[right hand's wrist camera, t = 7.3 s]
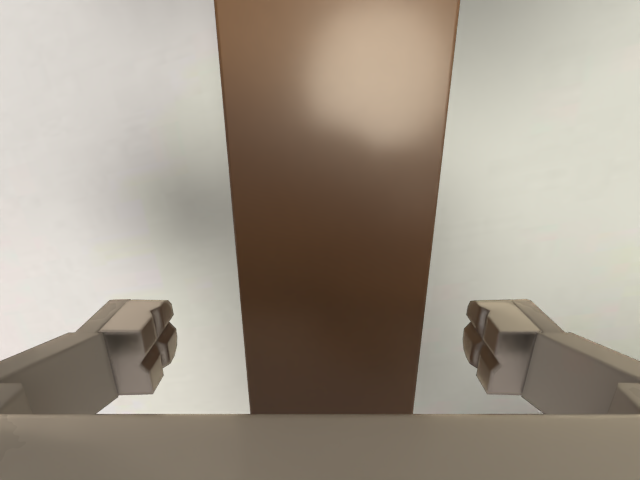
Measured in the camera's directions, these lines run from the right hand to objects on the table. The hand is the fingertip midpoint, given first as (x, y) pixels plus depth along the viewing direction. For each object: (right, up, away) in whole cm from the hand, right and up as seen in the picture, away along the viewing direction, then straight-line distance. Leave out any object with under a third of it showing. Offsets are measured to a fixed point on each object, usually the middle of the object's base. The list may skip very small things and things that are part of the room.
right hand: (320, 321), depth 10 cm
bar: (0, +11, +4) cm, 12 cm away
